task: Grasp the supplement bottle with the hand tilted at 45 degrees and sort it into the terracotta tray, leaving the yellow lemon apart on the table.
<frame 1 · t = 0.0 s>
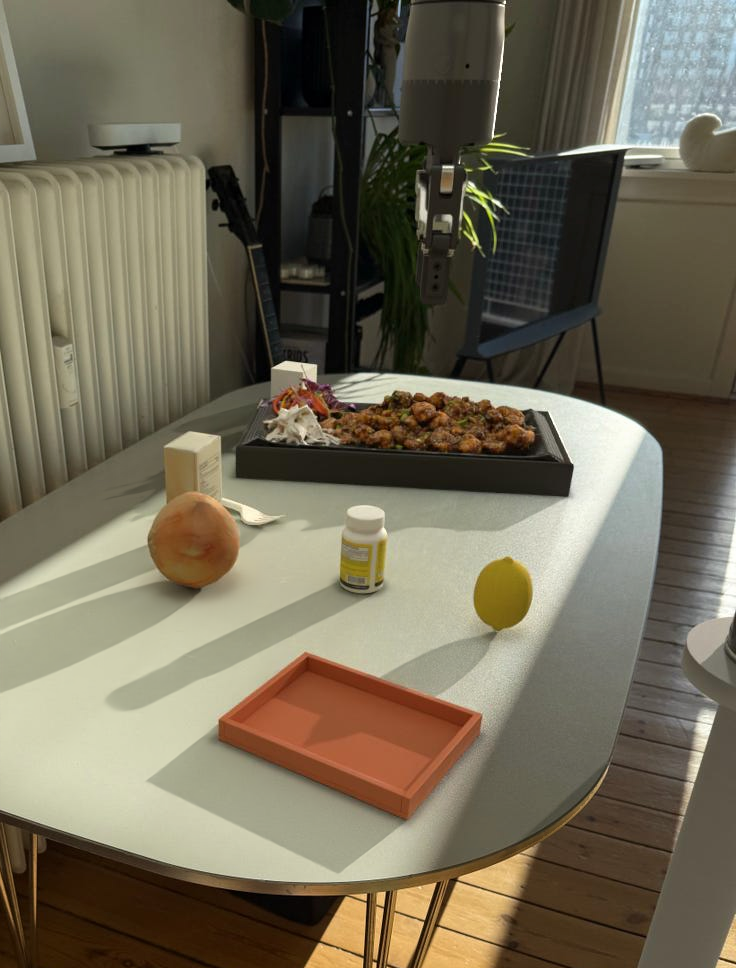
hand: (429, 294, 80), 31 cm above the table, tool pointing down, fingers open, 8 cm apart
food platter: (399, 458, 137), on the table
tray: (349, 736, 77), on the table
supplement bottle: (360, 586, 101), on the table
onion: (195, 583, 101), on the table
lemon: (496, 632, 92), on the table
cosmetic box: (195, 541, 111), on the table
fork: (225, 509, 120), on the table
off-white cube: (293, 402, 163), on the table
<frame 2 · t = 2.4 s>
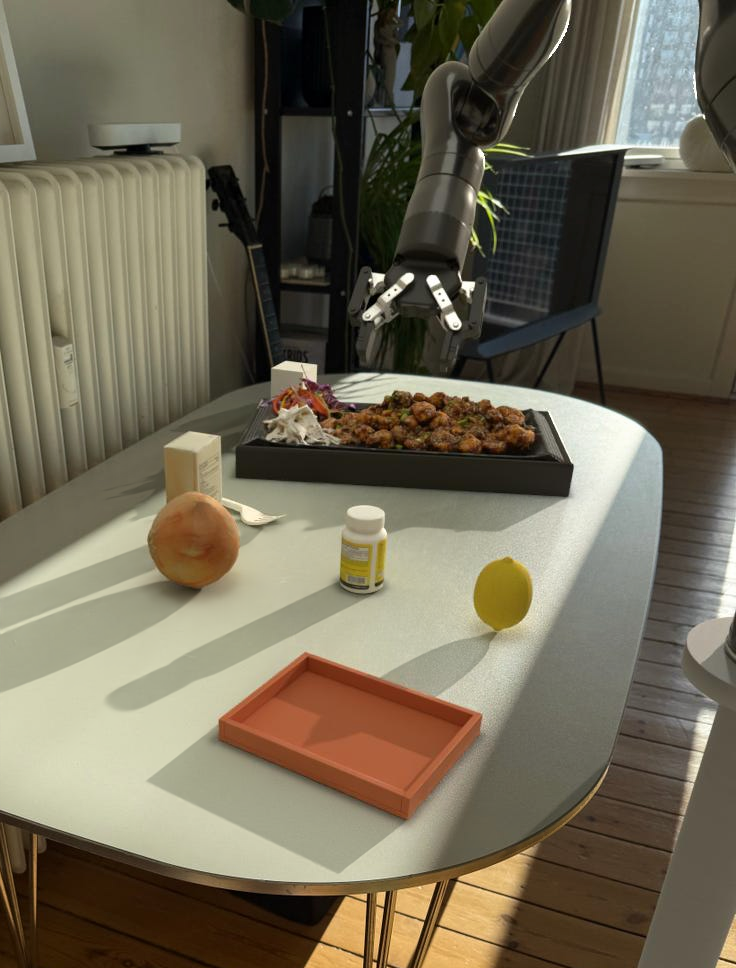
hand: (402, 363, 99), 21 cm above the table, tool tilted 45°, fingers open, 8 cm apart
nothing on the table moved.
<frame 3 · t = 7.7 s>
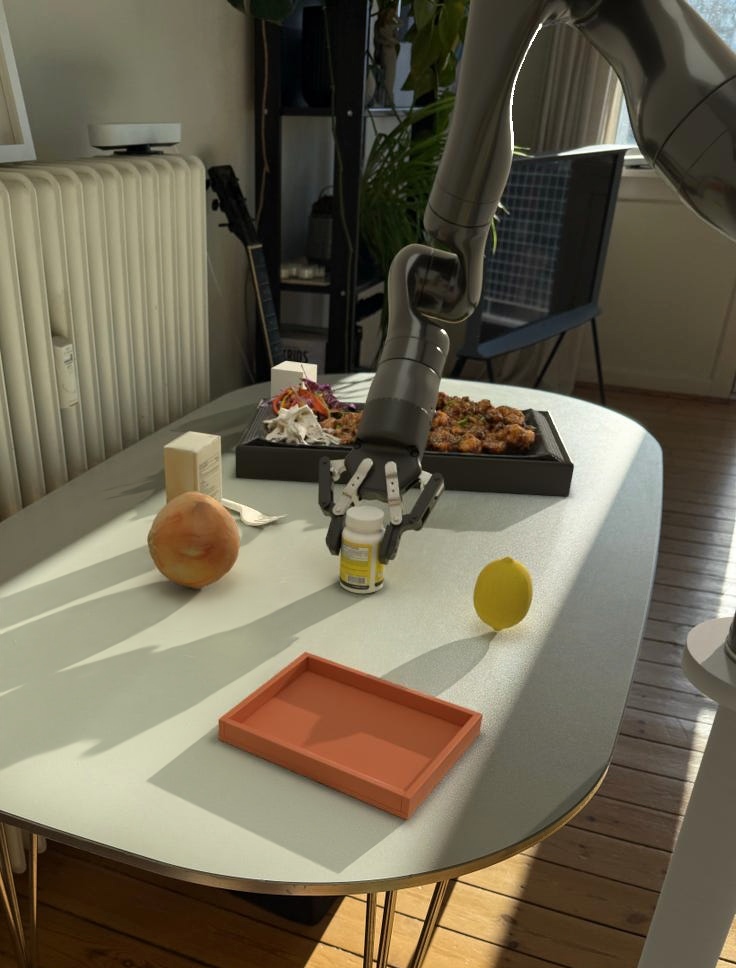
hand: (358, 556, 97), 4 cm above the table, tool tilted 45°, fingers closed on supplement bottle, 4 cm apart
supplement bottle: (360, 586, 101), on the table, touching gripper
everything else where it was.
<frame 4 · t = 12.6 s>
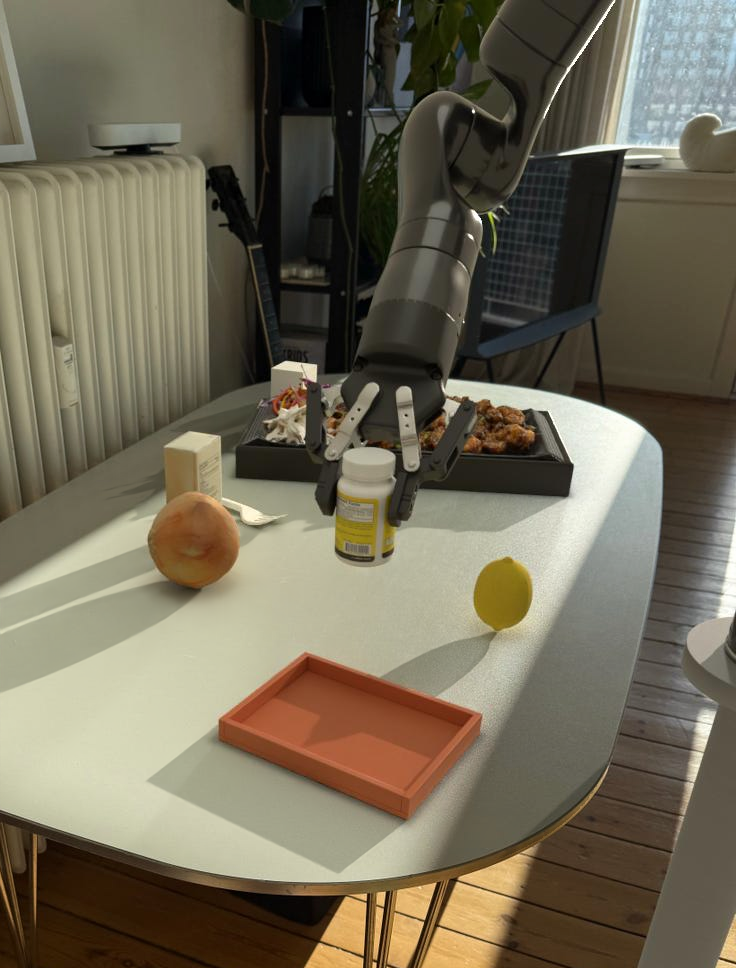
hand: (359, 516, 71), 18 cm above the table, tool tilted 45°, fingers closed on supplement bottle, 4 cm apart
supplement bottle: (363, 558, 75), point 14 cm above the table, touching gripper
everything else where it was.
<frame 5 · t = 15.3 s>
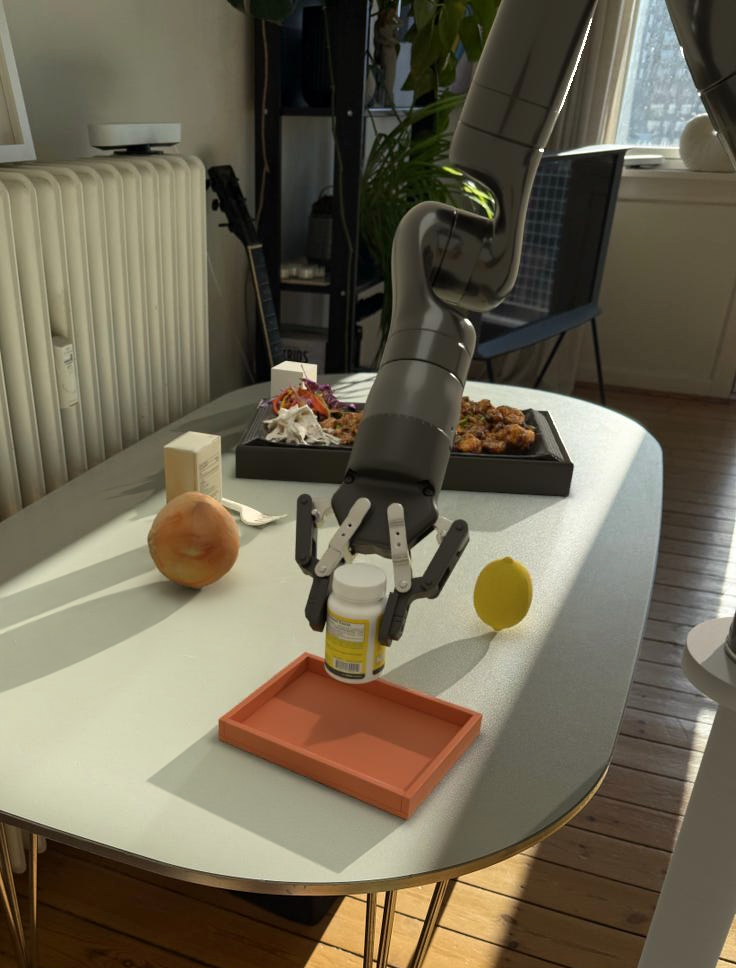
hand: (349, 635, 70), 11 cm above the table, tool tilted 45°, fingers closed on supplement bottle, 4 cm apart
supplement bottle: (353, 671, 74), point 6 cm above the table, touching gripper
everything else where it was.
when the fingers open (5 cm above the table, at t = 17.4 s): supplement bottle stays where it is, resting on tray.
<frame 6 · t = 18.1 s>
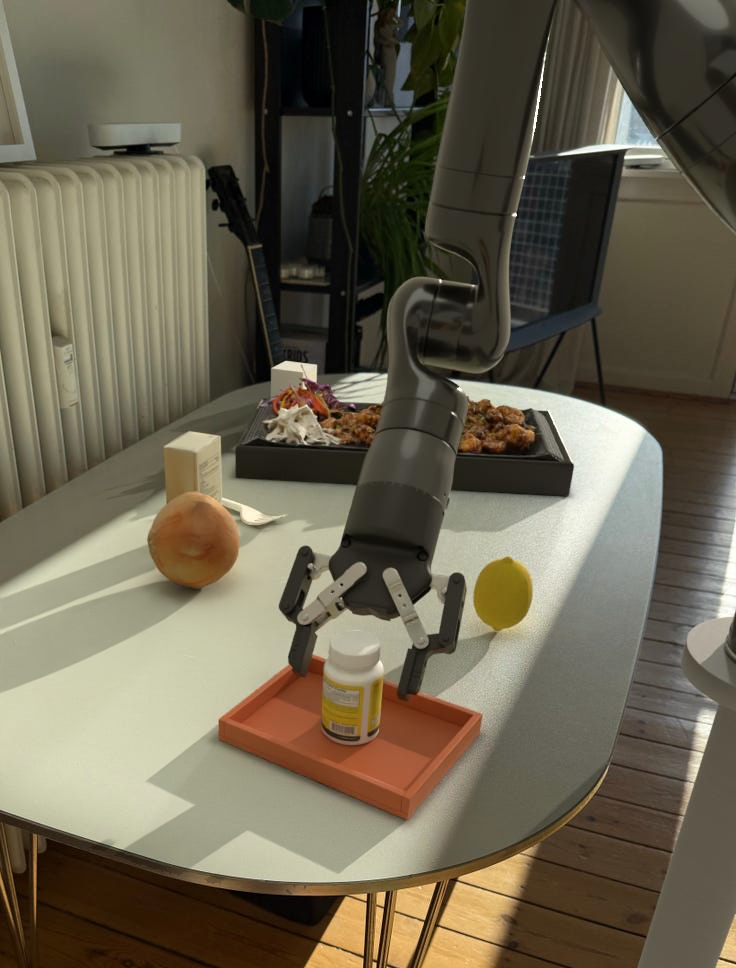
hand: (349, 686, 73), 6 cm above the table, tool tilted 45°, fingers open, 8 cm apart
supplement bottle: (349, 732, 77), resting on tray
everything else where it was.
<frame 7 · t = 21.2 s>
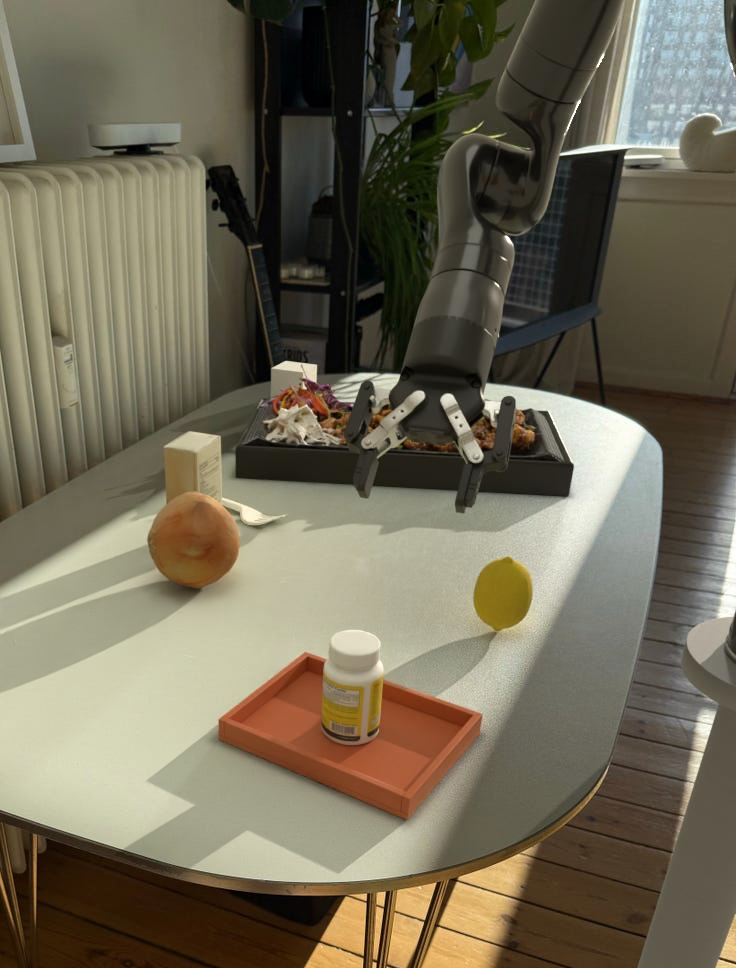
hand: (410, 502, 80), 16 cm above the table, tool tilted 45°, fingers open, 8 cm apart
nothing on the table moved.
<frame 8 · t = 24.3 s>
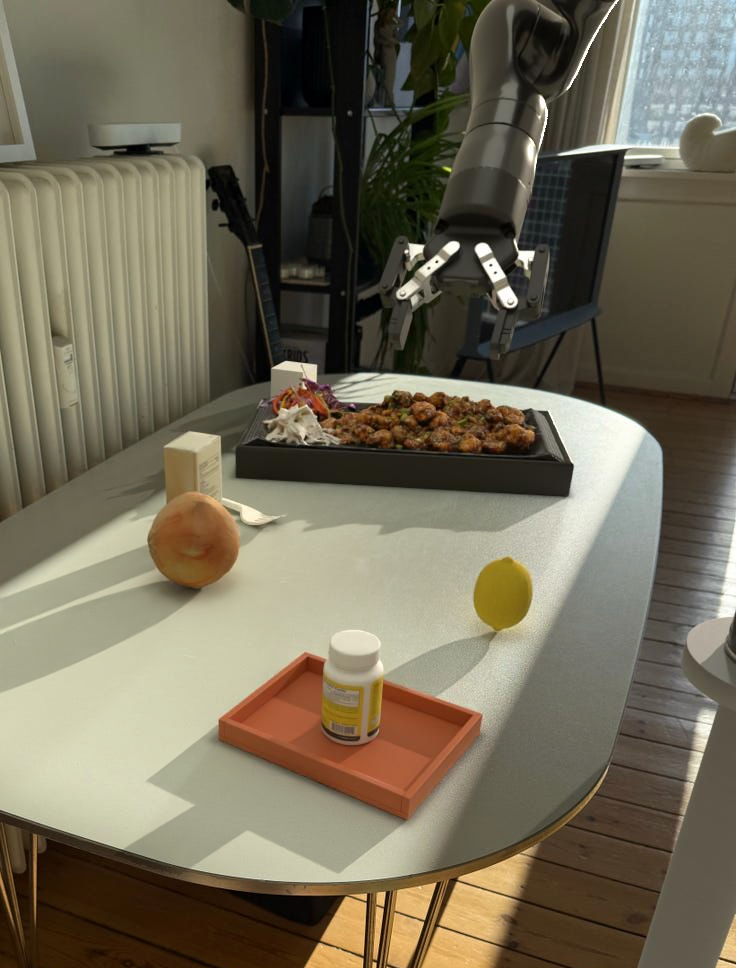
hand: (444, 349, 81), 27 cm above the table, tool tilted 45°, fingers open, 8 cm apart
nothing on the table moved.
at the end: supplement bottle inside the target area in the tray (0.1 cm from its centre), point 0.3 cm above the tray's base; supplement bottle tilted 0°; lemon moved 0.2 cm from its start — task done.
